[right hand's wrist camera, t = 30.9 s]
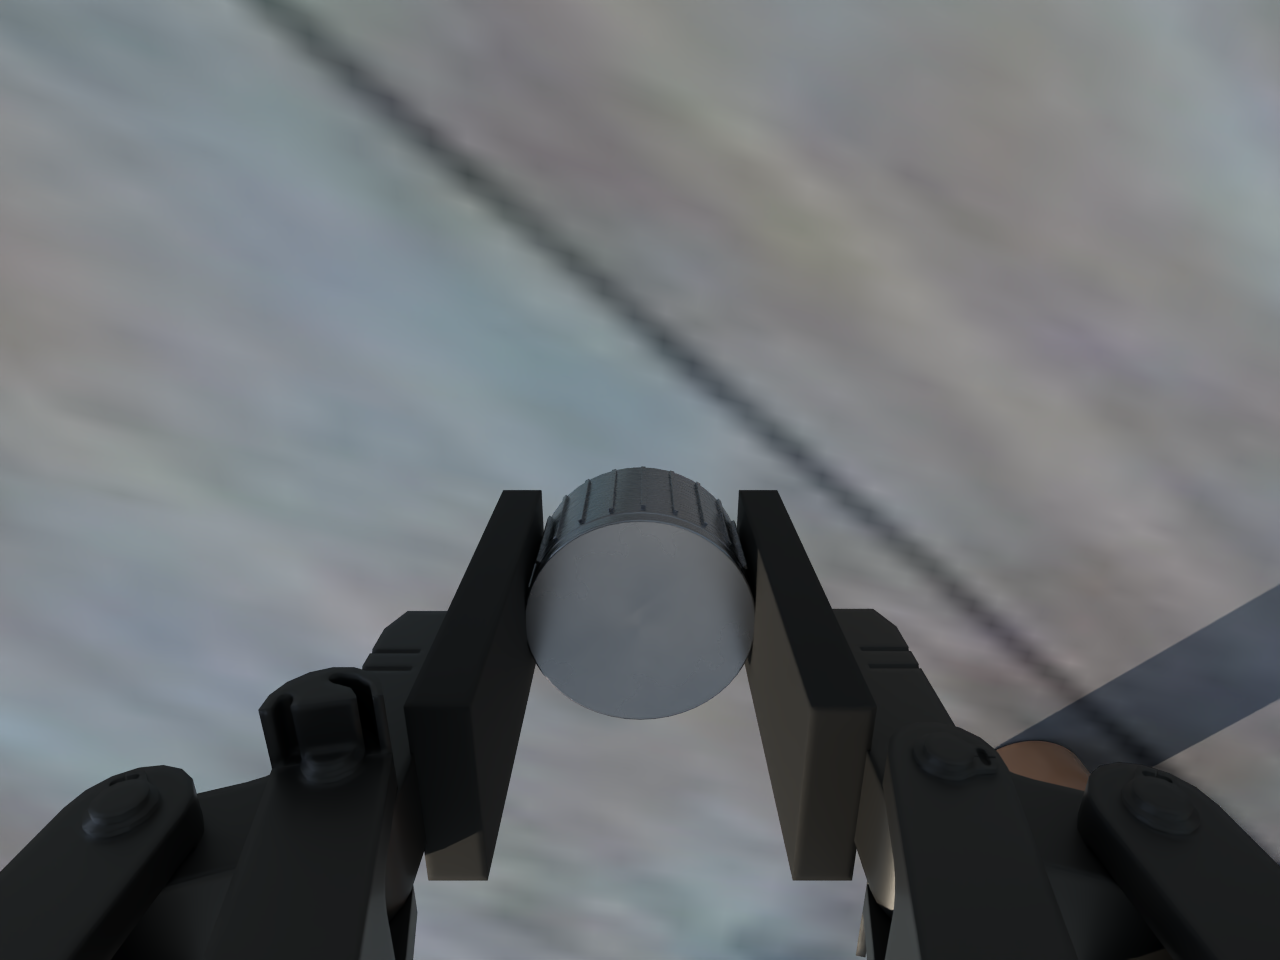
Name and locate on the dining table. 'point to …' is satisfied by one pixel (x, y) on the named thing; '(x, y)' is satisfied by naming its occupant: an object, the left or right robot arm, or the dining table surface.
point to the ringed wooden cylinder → (1045, 763)
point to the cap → (640, 596)
